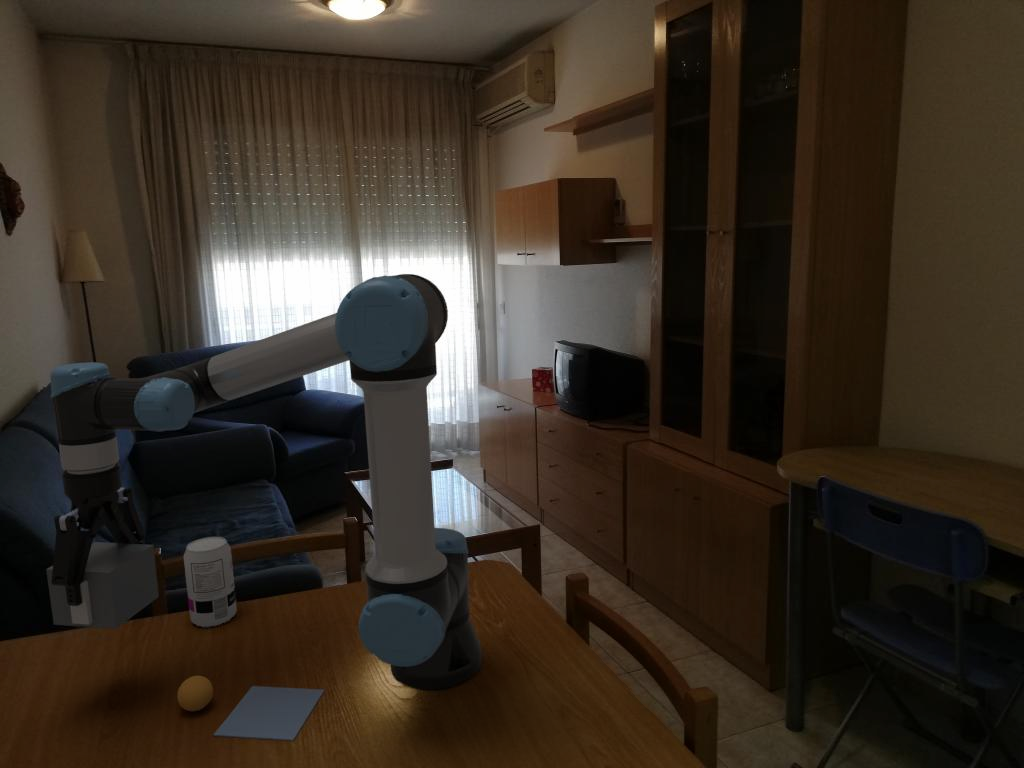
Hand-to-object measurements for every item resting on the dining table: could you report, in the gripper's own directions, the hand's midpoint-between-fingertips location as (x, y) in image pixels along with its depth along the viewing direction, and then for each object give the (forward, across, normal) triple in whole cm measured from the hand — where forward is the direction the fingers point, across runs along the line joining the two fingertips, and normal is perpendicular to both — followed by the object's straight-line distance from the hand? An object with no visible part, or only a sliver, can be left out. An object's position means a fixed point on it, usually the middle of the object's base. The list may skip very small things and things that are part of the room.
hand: (107, 605), depth 113 cm
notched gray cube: (+1, 0, 0) cm, 1 cm away
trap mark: (+15, +2, +26) cm, 30 cm away
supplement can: (+15, -25, +2) cm, 29 cm away
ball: (+13, +2, +14) cm, 19 cm away
